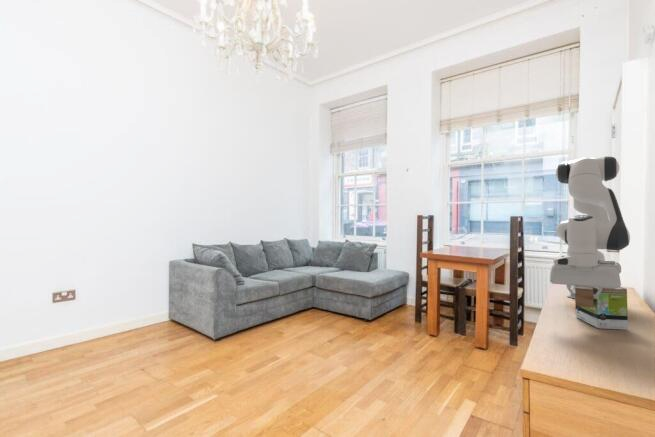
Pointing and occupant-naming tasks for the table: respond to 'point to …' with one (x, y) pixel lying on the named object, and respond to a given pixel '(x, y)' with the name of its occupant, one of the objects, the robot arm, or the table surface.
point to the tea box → (606, 309)
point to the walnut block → (584, 297)
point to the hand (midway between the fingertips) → (584, 297)
